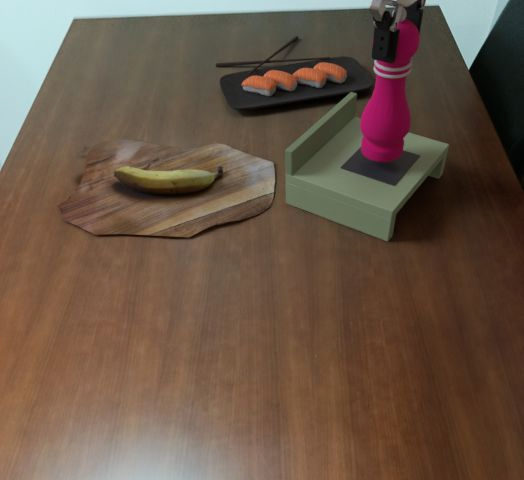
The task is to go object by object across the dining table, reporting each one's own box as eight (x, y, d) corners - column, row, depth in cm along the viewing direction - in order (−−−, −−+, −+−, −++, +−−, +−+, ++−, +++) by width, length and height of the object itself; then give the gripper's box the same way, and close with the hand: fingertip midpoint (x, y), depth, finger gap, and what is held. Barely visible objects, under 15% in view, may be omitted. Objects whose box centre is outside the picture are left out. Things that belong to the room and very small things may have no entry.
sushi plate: (231, 120, 110) (229, 100, 107) (204, 52, 128) (201, 34, 125) (377, 96, 113) (379, 76, 110) (329, 33, 132) (330, 15, 129)
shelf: (442, 174, 96) (454, 120, 89) (387, 242, 86) (396, 187, 79) (346, 143, 103) (350, 91, 96) (285, 203, 93) (284, 149, 86)
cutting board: (42, 235, 90) (34, 215, 87) (92, 139, 107) (86, 120, 104) (267, 243, 87) (266, 222, 84) (281, 143, 104) (281, 123, 101)
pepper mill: (393, 169, 85) (415, 23, 69) (349, 156, 88) (361, 12, 72) (413, 145, 89) (439, 1, 73) (370, 133, 91) (386, -8, 76)
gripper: (415, -97, 57) (391, 84, 71) (481, -138, 66) (448, 31, 80) (348, -106, 60) (337, 70, 74) (419, -144, 68) (398, 20, 82)
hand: (395, 48), depth 76 cm, fingers closed on pepper mill, 6 cm apart
